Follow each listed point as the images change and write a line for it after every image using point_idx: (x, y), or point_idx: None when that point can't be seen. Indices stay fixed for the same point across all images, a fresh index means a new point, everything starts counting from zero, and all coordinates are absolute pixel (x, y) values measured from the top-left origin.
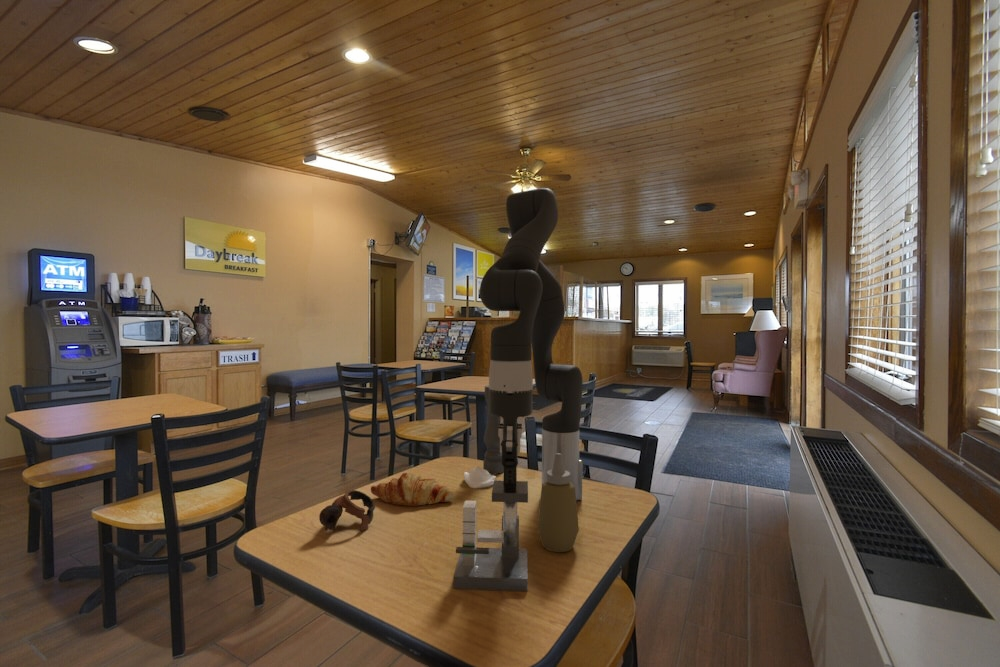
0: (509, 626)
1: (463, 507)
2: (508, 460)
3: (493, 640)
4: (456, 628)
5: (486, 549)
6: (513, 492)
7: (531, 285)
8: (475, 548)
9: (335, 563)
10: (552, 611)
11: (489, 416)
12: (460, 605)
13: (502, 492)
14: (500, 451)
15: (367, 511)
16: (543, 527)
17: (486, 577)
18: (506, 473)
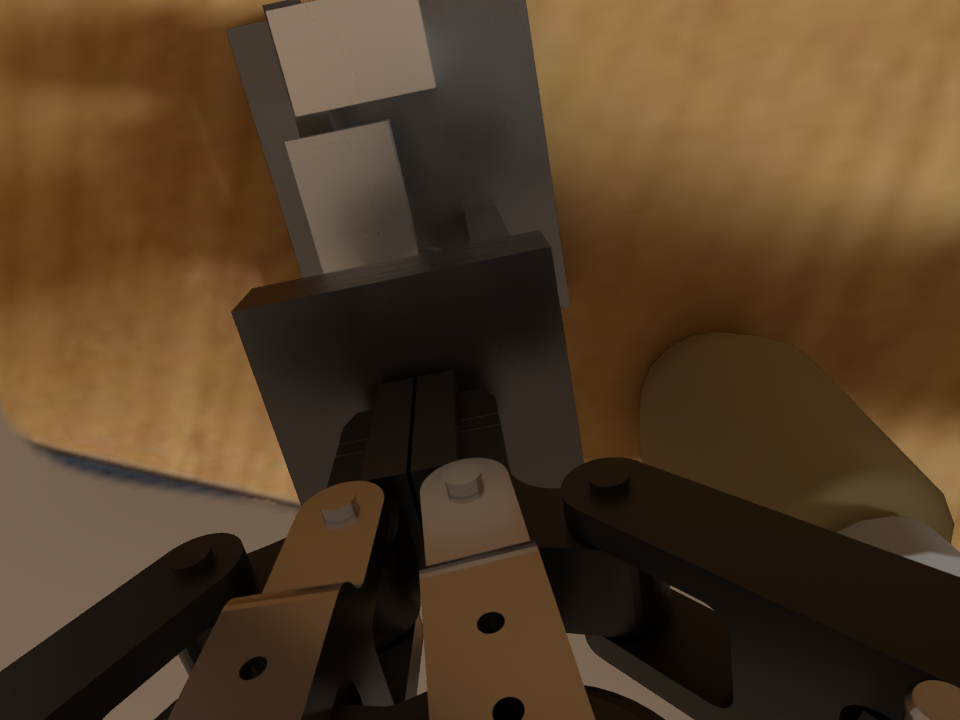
0: (111, 321)
1: (267, 16)
2: (182, 655)
3: (18, 288)
4: (7, 141)
5: None
6: (308, 470)
7: None
8: (315, 120)
9: None
10: (250, 433)
11: None
12: (144, 107)
13: (271, 394)
14: (222, 616)
15: None
16: (676, 387)
17: (276, 189)
18: (333, 483)
